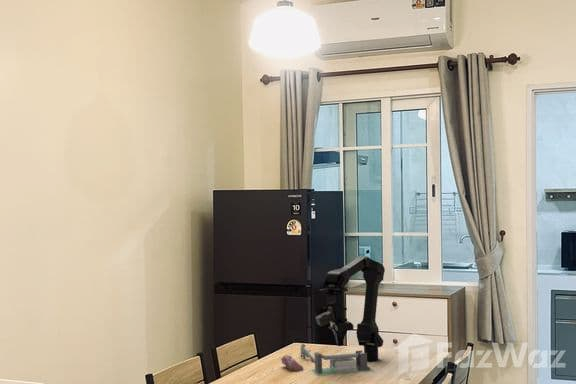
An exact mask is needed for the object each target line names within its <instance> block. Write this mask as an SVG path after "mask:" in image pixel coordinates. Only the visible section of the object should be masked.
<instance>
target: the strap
mask: <svg viewBox="0 0 576 384" xmlns="http://www.w3.org/2000/svg"><path fill="white" fill-rule="evenodd" d="M360 353H361V352H359V353H356V352H355V353H343V354H342V353H341V354H329V355H324V354H323V355H324V358H322V360H324V361H328V360H329V361H330V359H342V358H353V359H355V358H356V357H360Z"/></svg>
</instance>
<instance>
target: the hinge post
mask: <svg viewBox="0 0 576 384" xmlns="http://www.w3.org/2000/svg"><path fill="white" fill-rule="evenodd" d="M359 352H361V353H360V357H355V360H356V368H357V369H358V370H360V371H361V370H370V368H371V367H370V366H368V362H367V353H364V352H363V350H355V353H359Z"/></svg>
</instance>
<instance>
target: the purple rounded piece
mask: <svg viewBox="0 0 576 384" xmlns="http://www.w3.org/2000/svg"><path fill="white" fill-rule="evenodd" d="M280 360H281V364H283V365H284V366H285V367H286V368H287V369H289V370H290V371H296V372H301V371H304V367H303V365H301V364H299V363H298V362H297V361H296V359H295V358H293V356H292V355H287V354H285V355H284V356H282V357H281V358H280Z"/></svg>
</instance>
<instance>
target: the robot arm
mask: <svg viewBox="0 0 576 384" xmlns="http://www.w3.org/2000/svg"><path fill="white" fill-rule="evenodd" d="M385 269H386V268H385V266H384V264H382V262H378V261H376V260H374V259H371V258H370V257H369V256H363V255H360V256H357V257H356V258H355V259H353V260H352V261H351V262H349V263H348V264H345V265H344V266H343V267H342V268H341V267H340V268H337V269H333V270H330V271H328V272H327V273H326V276H325V279H324V281H323V283H322V286H321V289H318V293H316V295H315V296H314V303H315V306H316V307H317V308H319V309H325V308H327V311H326V312H323V313H320V314H319V315H316V316H315V317H314V318H315V321H316V323H317V325H318V326H319V327H323V326H326V325H329V324H330V326H328V329H330V330H331V331H332V332H333V335H334V338H335V341H336V345H337V346H338V347H341V346H342V344H343V342H344V339H345V337H346V335H347V332H348V331H354V324H353V323H352V322H350V321H348V318H347V317H346V316H347V315H346V311H348V307H346V298H345V297H346V293H347V292H348V288H346V287H345V286H347V284H348V283H349V282H350V279H351V277H353V276H354V275H356V274H357V273H359V272H362V276H363V280H364V281H365V285H366V286H365V293H364V294H365V295H364V305H363V315H362V320H361V322H360V323H359V322H358V323H357V325H356V332H355V333H356V339H357V342H358V346H361V347H362V346H363V353H367V363H372V362H373V363H374V362H381V361H382V360H381V359H380V358H379V348H382V347H383V346H384V339H383V338H382V337H381V335H380V334H379V330H380V329H379V326H378V325H377V322H376V316H377V306H378V295H379V286H380V284H381V283H382V281H383V280H384V275H385V273H386V272H385Z"/></svg>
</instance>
